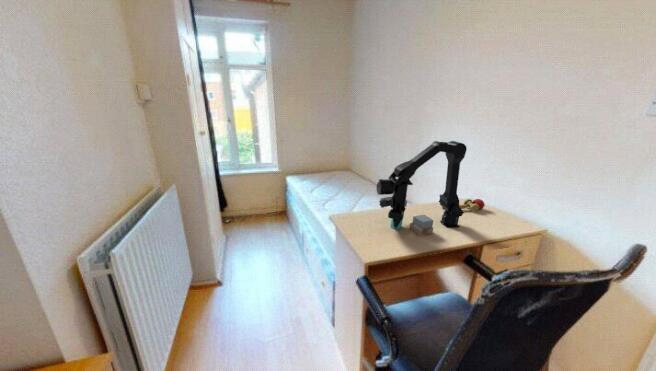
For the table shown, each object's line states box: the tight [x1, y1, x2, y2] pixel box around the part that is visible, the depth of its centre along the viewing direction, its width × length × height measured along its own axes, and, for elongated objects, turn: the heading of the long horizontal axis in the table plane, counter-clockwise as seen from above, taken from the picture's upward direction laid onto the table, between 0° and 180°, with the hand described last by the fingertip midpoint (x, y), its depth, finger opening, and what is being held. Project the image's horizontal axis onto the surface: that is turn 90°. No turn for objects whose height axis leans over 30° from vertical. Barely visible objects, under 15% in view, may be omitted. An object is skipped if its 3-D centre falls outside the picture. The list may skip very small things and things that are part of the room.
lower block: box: [409, 222, 434, 237], centre depth 115 cm, size 7×7×4 cm
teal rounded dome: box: [390, 218, 403, 231], centre depth 118 cm, size 5×5×4 cm
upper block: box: [412, 214, 434, 229], centre depth 114 cm, size 6×6×4 cm
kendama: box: [459, 198, 485, 213], centre depth 138 cm, size 8×6×18 cm
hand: (396, 225), depth 119 cm, fingers closed on teal rounded dome, 5 cm apart
